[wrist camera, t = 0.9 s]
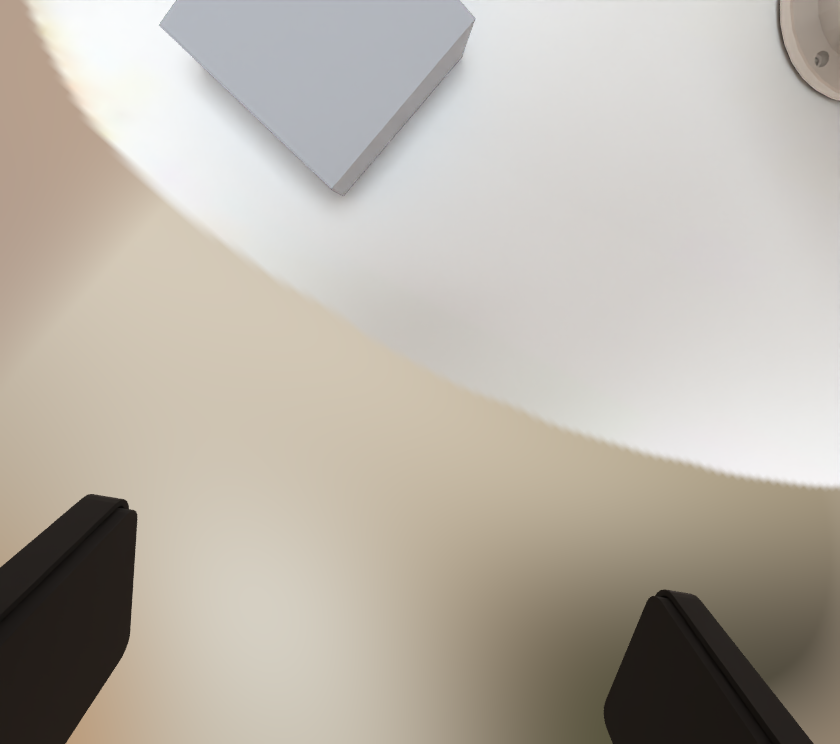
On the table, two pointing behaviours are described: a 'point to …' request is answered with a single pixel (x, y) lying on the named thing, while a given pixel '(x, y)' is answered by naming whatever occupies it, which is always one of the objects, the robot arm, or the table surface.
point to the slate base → (326, 68)
